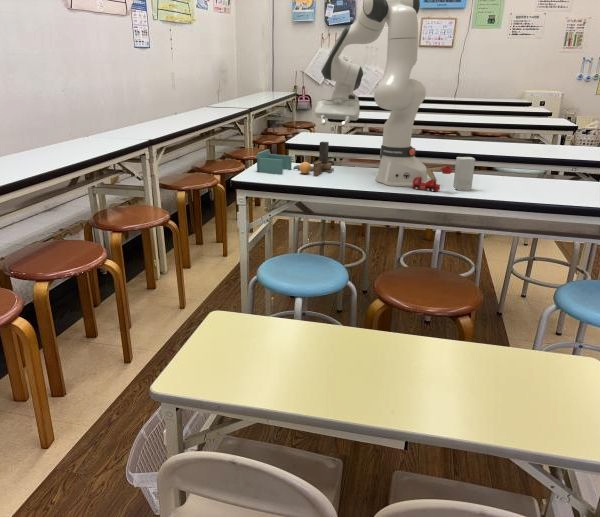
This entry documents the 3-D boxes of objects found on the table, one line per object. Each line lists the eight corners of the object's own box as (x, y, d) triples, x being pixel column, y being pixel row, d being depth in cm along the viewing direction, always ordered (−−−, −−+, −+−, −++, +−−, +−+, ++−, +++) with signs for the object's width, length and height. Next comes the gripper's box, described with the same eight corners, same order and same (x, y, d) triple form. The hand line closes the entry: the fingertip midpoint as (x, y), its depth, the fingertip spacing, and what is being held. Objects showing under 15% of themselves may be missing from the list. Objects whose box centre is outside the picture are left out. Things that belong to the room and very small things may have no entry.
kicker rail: (333, 171, 222) (333, 168, 221) (330, 173, 217) (330, 170, 217) (297, 167, 227) (297, 165, 227) (293, 169, 223) (293, 167, 223)
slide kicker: (331, 170, 222) (332, 142, 217) (321, 176, 210) (322, 146, 206) (318, 169, 224) (319, 141, 219) (308, 174, 212) (308, 145, 208)
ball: (312, 173, 217) (312, 161, 215) (308, 175, 213) (308, 163, 211) (301, 172, 219) (301, 160, 217) (297, 174, 214) (297, 162, 213)
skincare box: (467, 187, 196) (472, 156, 192) (471, 190, 192) (476, 158, 187) (452, 187, 196) (456, 156, 191) (455, 190, 192) (459, 158, 187)
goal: (291, 169, 223) (291, 151, 220) (281, 174, 214) (281, 155, 211) (267, 167, 227) (267, 149, 224) (257, 172, 218) (256, 153, 215)
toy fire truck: (413, 187, 196) (416, 162, 192) (449, 192, 190) (452, 166, 186) (411, 189, 193) (413, 164, 189) (447, 193, 187) (450, 167, 183)
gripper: (317, 94, 230) (309, 119, 226) (361, 97, 224) (353, 122, 219) (320, 104, 236) (312, 128, 231) (362, 106, 229) (355, 131, 225)
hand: (333, 125), depth 225 cm, fingers open, 8 cm apart
